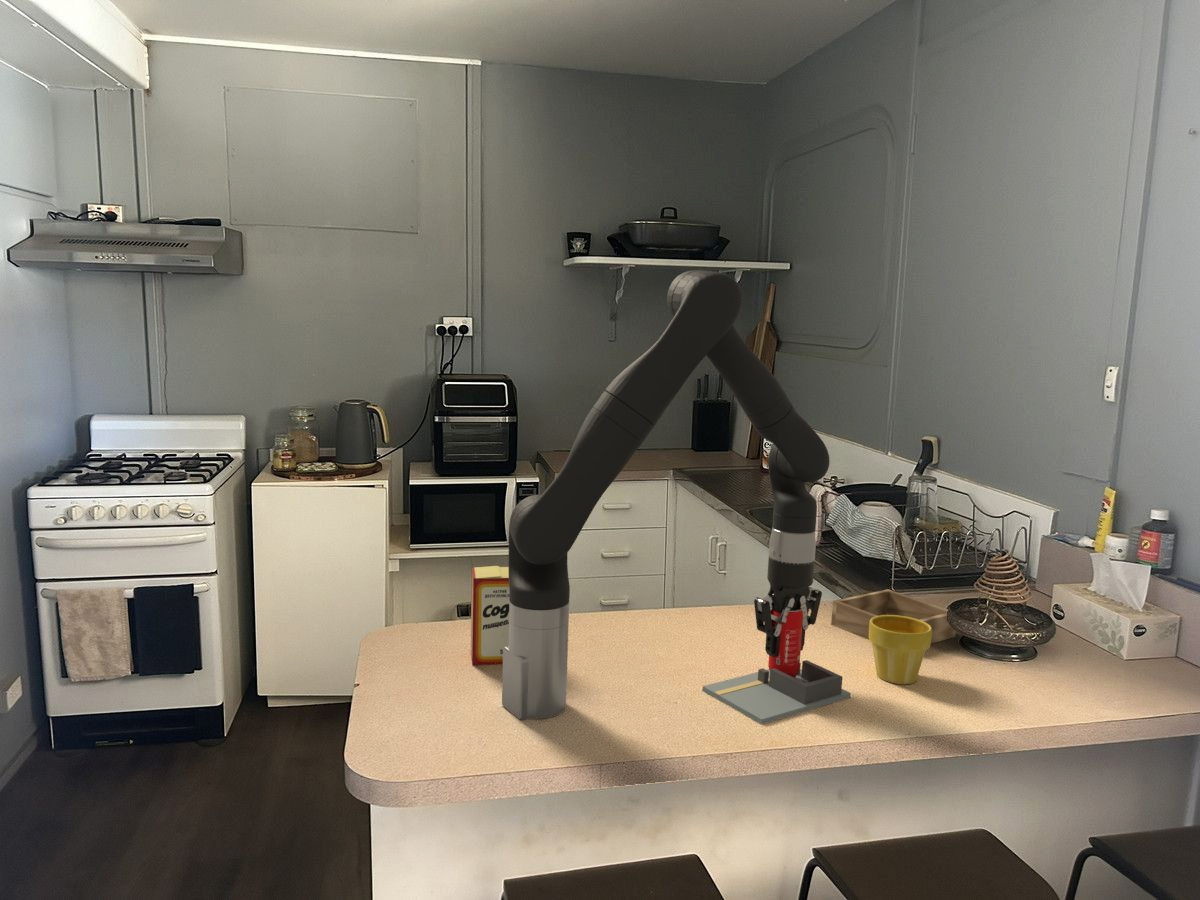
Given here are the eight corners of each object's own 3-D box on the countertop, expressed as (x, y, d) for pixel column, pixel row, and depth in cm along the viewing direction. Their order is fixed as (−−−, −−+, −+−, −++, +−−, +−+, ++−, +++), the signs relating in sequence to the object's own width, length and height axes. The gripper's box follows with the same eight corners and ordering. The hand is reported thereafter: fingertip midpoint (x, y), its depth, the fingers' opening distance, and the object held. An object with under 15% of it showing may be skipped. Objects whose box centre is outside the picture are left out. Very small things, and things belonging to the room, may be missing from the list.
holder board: (761, 724, 138) (762, 700, 137) (702, 690, 149) (703, 668, 148) (850, 697, 149) (852, 675, 148) (789, 668, 160) (790, 647, 159)
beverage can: (790, 683, 149) (795, 613, 147) (762, 674, 152) (766, 606, 150) (803, 673, 153) (808, 606, 152) (776, 665, 156) (780, 599, 155)
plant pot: (873, 661, 165) (878, 609, 163) (932, 674, 160) (937, 621, 158) (858, 679, 156) (862, 625, 155) (920, 694, 151) (925, 638, 149)
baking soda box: (522, 649, 164) (524, 564, 162) (526, 663, 158) (528, 575, 156) (470, 651, 163) (471, 565, 160) (472, 665, 156) (473, 576, 154)
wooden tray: (899, 652, 170) (901, 626, 169) (831, 624, 184) (832, 600, 183) (955, 636, 179) (957, 612, 178) (885, 611, 193) (887, 589, 192)
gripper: (776, 566, 143) (769, 668, 145) (838, 555, 151) (830, 652, 153) (744, 554, 149) (738, 652, 151) (805, 545, 157) (798, 638, 159)
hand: (784, 652), depth 152 cm, fingers closed on beverage can, 5 cm apart
